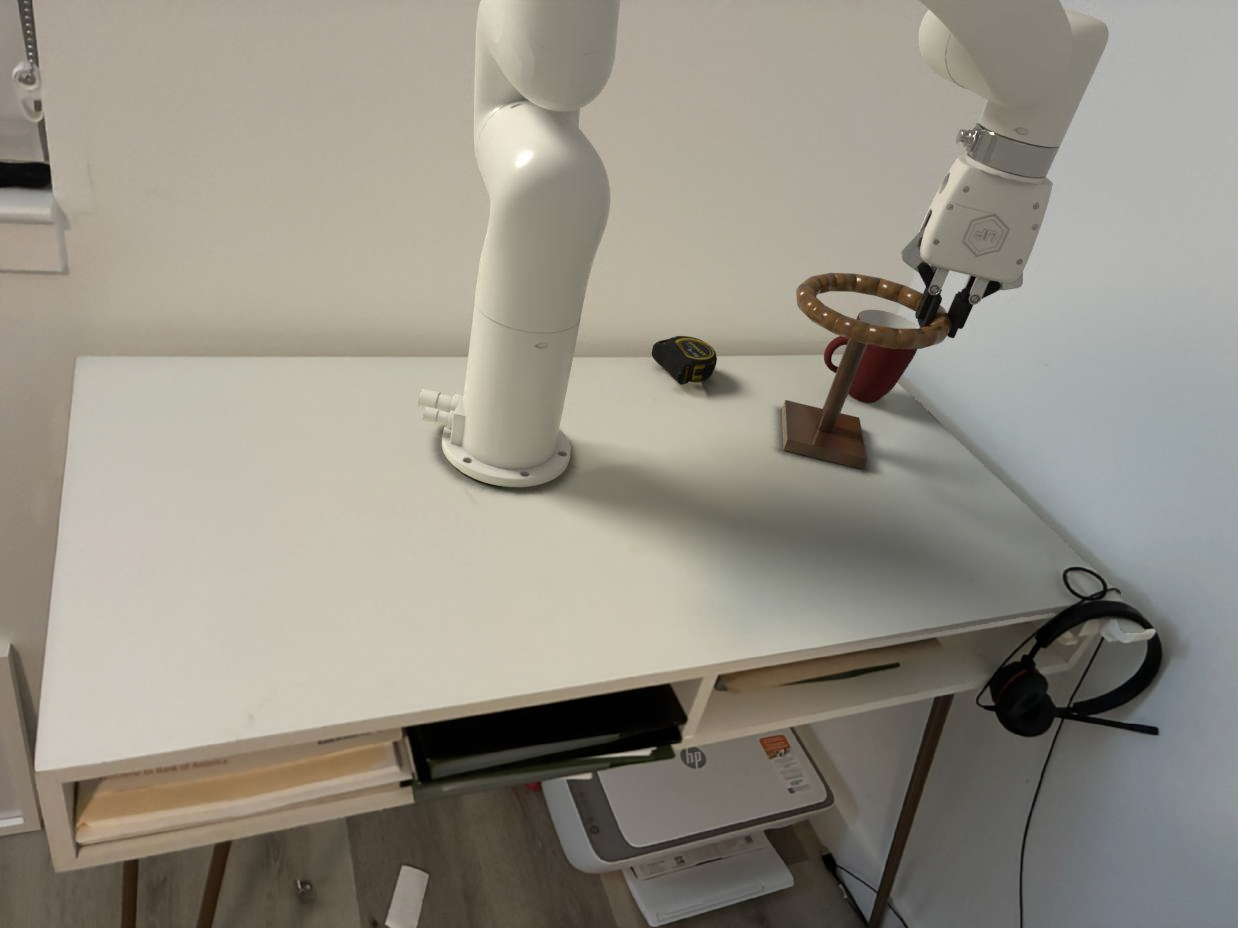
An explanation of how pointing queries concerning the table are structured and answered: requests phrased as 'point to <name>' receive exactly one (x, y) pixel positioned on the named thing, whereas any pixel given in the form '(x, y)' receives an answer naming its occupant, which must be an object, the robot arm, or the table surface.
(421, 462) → the table surface
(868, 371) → the mug
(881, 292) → the ring
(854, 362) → the post
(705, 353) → the tape measure
